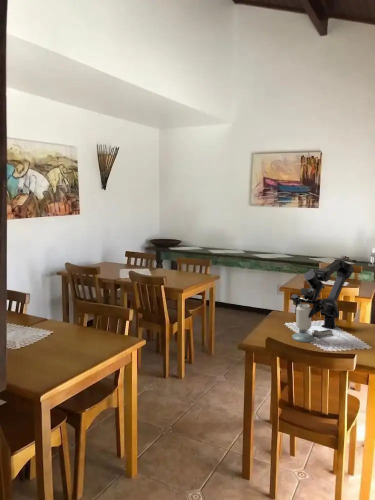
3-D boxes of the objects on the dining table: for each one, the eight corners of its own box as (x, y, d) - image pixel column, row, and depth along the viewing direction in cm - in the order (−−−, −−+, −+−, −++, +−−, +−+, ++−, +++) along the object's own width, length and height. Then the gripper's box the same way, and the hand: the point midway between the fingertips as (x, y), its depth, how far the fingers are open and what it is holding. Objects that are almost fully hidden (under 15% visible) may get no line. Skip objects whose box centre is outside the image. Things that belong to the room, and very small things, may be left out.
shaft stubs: (299, 326, 228) (299, 321, 228) (333, 334, 216) (333, 328, 215) (290, 331, 221) (290, 326, 220) (324, 339, 208) (324, 334, 208)
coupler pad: (298, 333, 218) (298, 331, 218) (317, 337, 211) (317, 335, 211) (288, 338, 210) (288, 337, 210) (308, 344, 203) (308, 342, 203)
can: (296, 324, 215) (297, 302, 213) (311, 326, 212) (312, 303, 211) (295, 329, 208) (295, 306, 206) (310, 330, 205) (311, 307, 204)
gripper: (293, 279, 216) (280, 303, 211) (325, 284, 202) (312, 311, 197) (301, 290, 222) (289, 315, 217) (333, 297, 209) (321, 323, 203)
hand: (302, 315), depth 208 cm, fingers closed on can, 7 cm apart
